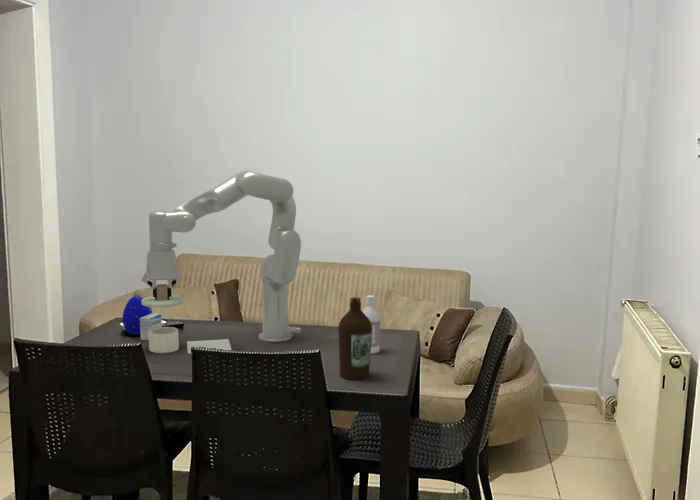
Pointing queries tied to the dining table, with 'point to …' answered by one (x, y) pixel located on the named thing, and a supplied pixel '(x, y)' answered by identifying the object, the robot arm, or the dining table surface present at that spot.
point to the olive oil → (354, 342)
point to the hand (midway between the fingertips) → (162, 298)
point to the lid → (162, 298)
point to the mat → (210, 344)
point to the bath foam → (373, 323)
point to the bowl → (163, 340)
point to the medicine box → (149, 324)
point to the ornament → (134, 315)
